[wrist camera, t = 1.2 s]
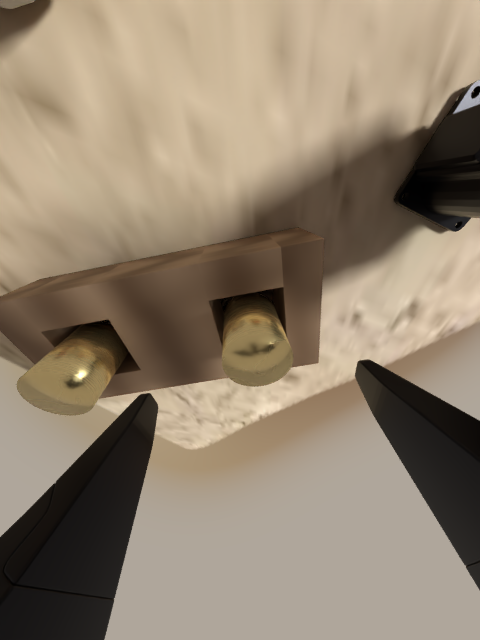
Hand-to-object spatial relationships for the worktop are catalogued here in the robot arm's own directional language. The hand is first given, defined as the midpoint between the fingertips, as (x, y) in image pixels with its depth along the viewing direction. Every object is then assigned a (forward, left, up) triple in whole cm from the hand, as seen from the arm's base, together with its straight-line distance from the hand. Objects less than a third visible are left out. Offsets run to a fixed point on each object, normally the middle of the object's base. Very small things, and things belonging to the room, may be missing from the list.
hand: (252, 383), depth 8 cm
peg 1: (+10, +7, -7) cm, 14 cm away
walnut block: (+4, +4, -11) cm, 12 cm away
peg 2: (-1, +1, -7) cm, 7 cm away
